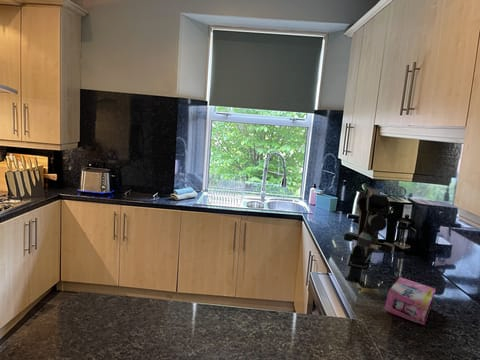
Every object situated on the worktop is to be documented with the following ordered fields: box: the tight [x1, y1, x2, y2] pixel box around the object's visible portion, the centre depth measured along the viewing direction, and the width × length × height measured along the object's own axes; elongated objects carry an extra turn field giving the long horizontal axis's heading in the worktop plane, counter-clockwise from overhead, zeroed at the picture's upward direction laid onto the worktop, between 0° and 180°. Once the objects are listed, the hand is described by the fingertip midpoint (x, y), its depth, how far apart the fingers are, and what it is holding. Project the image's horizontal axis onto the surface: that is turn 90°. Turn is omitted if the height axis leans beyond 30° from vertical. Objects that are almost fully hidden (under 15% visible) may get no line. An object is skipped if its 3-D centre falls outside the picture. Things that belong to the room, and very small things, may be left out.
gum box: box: [383, 276, 436, 326], centre depth 138 cm, size 24×8×14 cm
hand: (364, 262), depth 146 cm, fingers closed
